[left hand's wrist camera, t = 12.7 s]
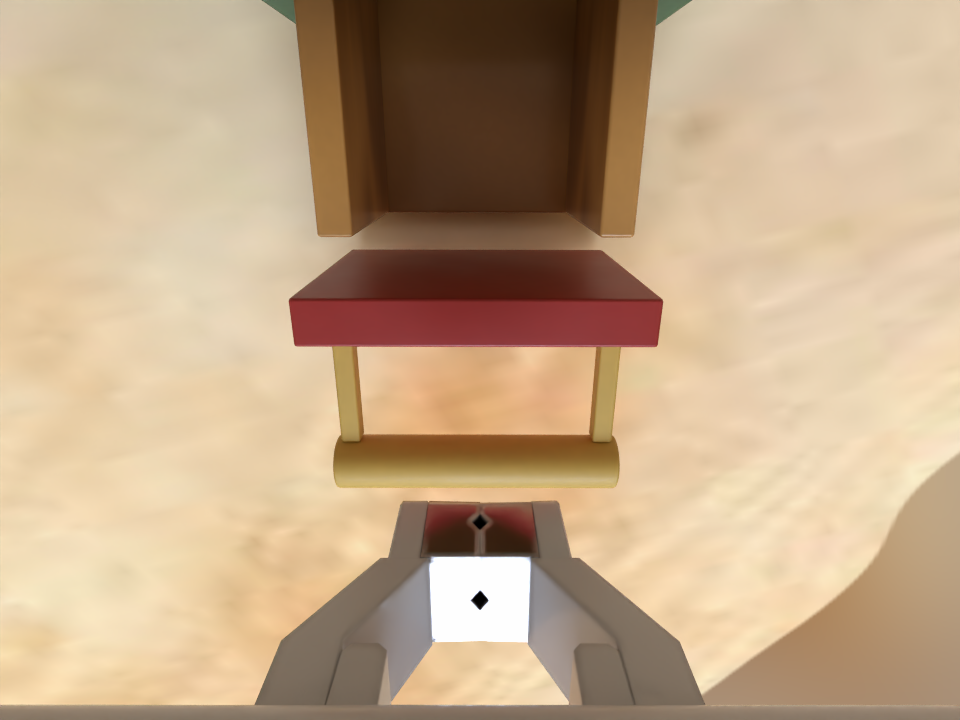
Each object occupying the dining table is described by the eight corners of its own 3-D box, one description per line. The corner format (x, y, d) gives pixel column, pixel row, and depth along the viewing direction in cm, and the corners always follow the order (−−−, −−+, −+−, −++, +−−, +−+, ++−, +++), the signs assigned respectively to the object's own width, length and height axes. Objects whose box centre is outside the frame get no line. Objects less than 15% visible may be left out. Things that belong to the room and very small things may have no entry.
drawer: (588, 426, 21) (634, 542, 15) (365, 426, 21) (317, 542, 15) (640, -198, 15) (764, -465, 8) (313, -199, 15) (185, -469, 8)
